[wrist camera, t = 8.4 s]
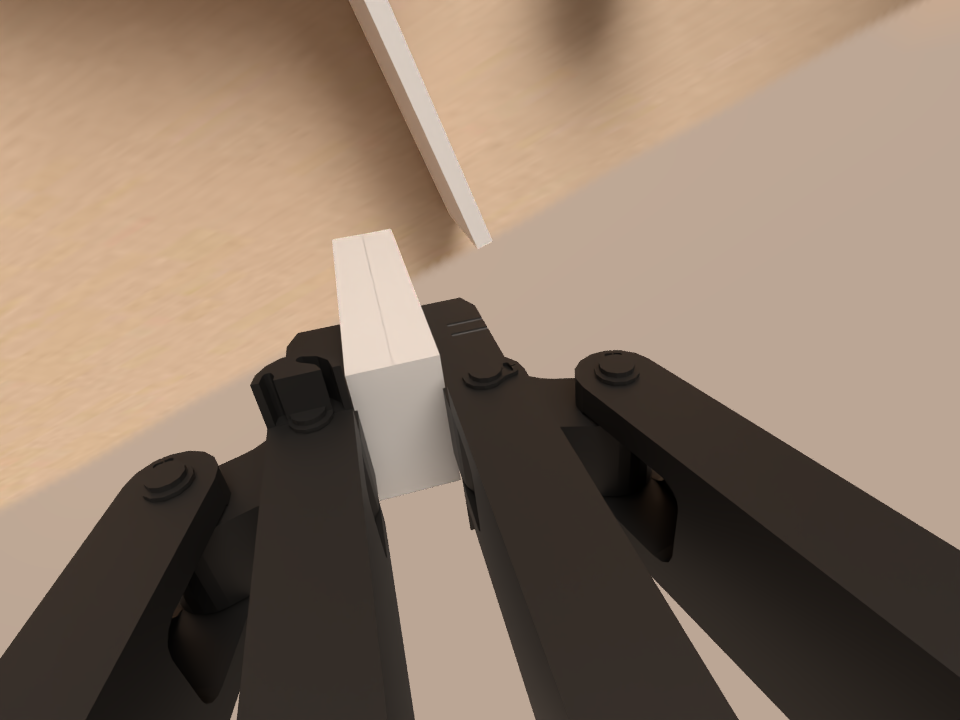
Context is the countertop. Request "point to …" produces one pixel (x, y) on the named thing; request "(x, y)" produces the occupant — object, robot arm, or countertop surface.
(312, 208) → the countertop surface
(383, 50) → the side door
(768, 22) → the countertop surface
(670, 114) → the countertop surface
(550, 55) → the countertop surface
